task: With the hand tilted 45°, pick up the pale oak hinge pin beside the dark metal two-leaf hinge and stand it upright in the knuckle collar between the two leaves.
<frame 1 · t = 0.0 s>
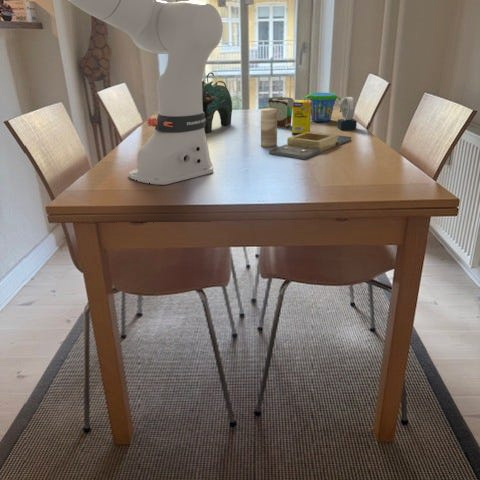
hand: (235, 5, 119), 39 cm above the table, tool pointing down, fingers open, 8 cm apart
hinge: (312, 146, 137), on the table
watch: (346, 129, 161), on the table
snack cup: (321, 121, 176), on the table
hinge pin: (268, 145, 140), on the table
food container: (283, 126, 169), on the table
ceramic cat: (214, 129, 167), on the table
supplement box: (301, 134, 155), on the table
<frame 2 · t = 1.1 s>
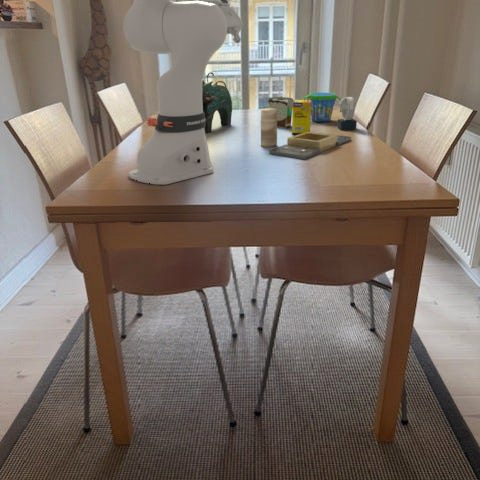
hand: (228, 42, 137), 30 cm above the table, tool tilted 45°, fingers open, 8 cm apart
nothing on the table moved.
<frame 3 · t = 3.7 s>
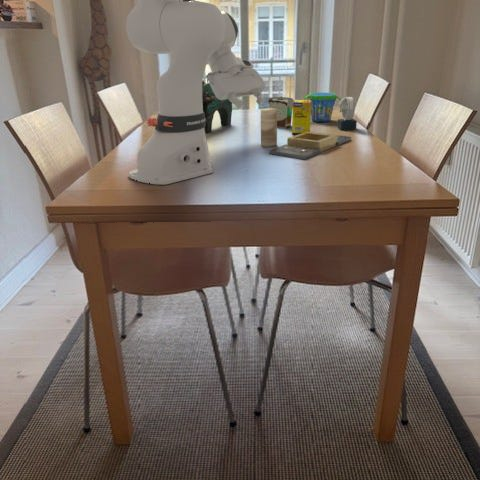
hand: (251, 105, 139), 12 cm above the table, tool tilted 45°, fingers open, 8 cm apart
nothing on the table moved.
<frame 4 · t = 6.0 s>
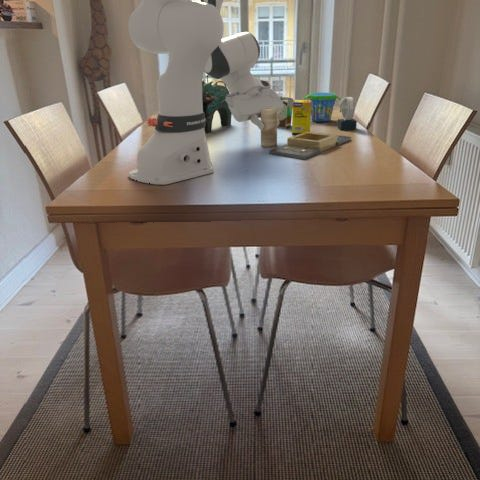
hand: (270, 126, 137), 6 cm above the table, tool tilted 45°, fingers closed on hinge pin, 5 cm apart
hinge pin: (268, 145, 140), on the table, touching gripper
everything else where it was.
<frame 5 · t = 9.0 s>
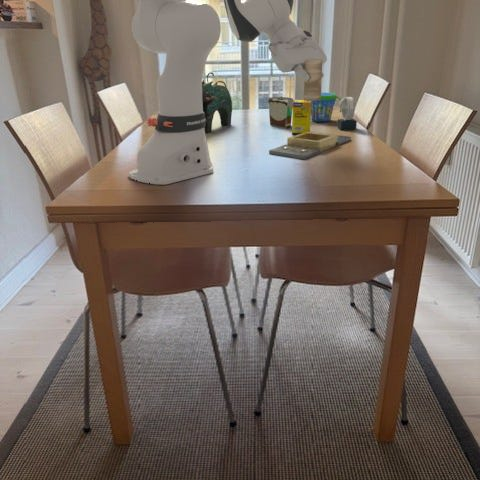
hand: (315, 78, 129), 20 cm above the table, tool tilted 45°, fingers closed on hinge pin, 5 cm apart
hinge pin: (312, 99, 132), point 14 cm above the table, touching gripper
everything else where it was.
when the fingers open (7 cm above the table, at t = 12.4 s): hinge pin drops 1 cm, resting in hinge.
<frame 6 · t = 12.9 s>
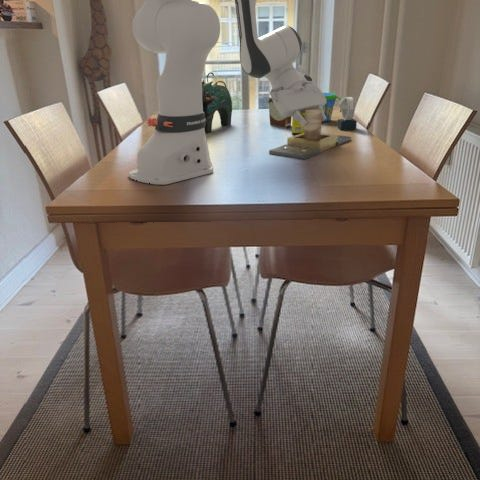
hand: (314, 122, 134), 7 cm above the table, tool tilted 45°, fingers open, 8 cm apart
hinge pin: (311, 146, 137), resting in hinge
everything else where it was.
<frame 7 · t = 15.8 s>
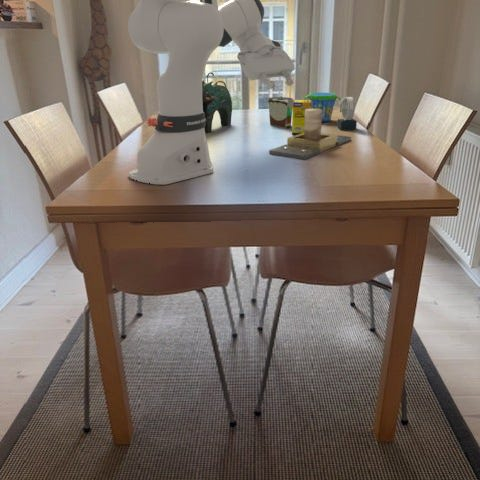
hand: (281, 85, 138), 17 cm above the table, tool tilted 45°, fingers open, 8 cm apart
nothing on the table moved.
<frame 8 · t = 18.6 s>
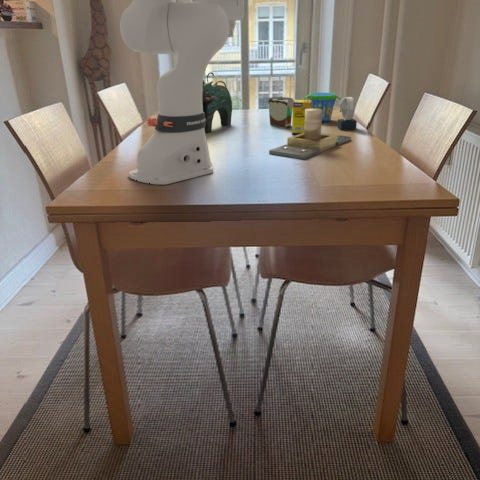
hand: (219, 37, 134), 31 cm above the table, tool pointing down, fingers open, 8 cm apart
nothing on the table moved.
at the end: hinge pin 0.1 cm off-centre on the hinge, point 0.0 cm above the hinge's base; hinge pin tilted 0°; the gripper is holding nothing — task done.
